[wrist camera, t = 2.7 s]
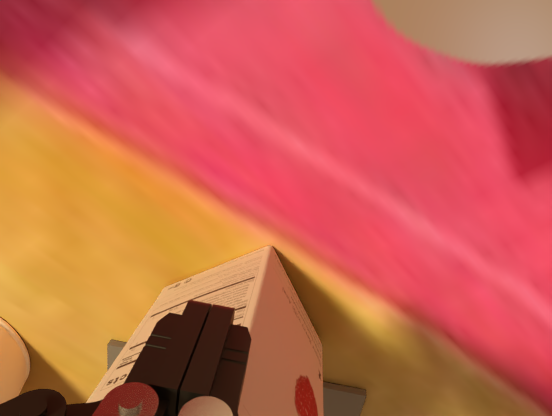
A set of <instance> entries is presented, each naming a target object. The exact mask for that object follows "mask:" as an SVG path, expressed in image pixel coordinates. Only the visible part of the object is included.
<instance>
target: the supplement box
mask: <svg viewBox="0 0 552 416" xmlns="http://www.w3.org/2000/svg"><path fill="white" fill-rule="evenodd" d="M189 300H194V301H199V302H205V303H210V304H212V305H213V304H216V305H221V306H226V307H231V308H235V314H234V321H233V324H234V325H239V326H244V327H248V330H249V333H250V336H251V339H252V340H251V345H250V351H249V357H248V363H247V368H246V374H245V379H244V384H243V389H242V394H241V398H240V403H239V408H238V416H324V414H323V363H322V344H321V342H320V339H319V337H318V335H317V333H316V331H315V329H314V327H313V325H312V323H311V321H310V319H309V317H308V315H307V313H306V311H305V309H304V307H303V305H302V303H301V301H300V299H299V297H298V295H297V293H296V291H295V289H294V287H293V286H292V284H291V282H290V280H289V278H288V276H287V274H286V272H285V270H284V268H283V266H282V264H281V262H280V260H279V258H278V256H277V254H276V252H275V250H274V248H273V247H272V246H270V245H269V246H266V247H263V248H261V249H258V250H256V251H253V252H251V253H248V254H246V255H243V256H241V257H239V258H236V259H234V260H231V261H229V262H226V263H224V264H221V265H219V266H216V267H214V268H211V269H209V270H206V271H204V272H202V273H199V274H197V275H194V276H192V277H189V278H187V279H184V280H182V281H179V282H177V283H174V284H172V285H169V286H167V287H165V288H163V290H162V292H161V293H160V295H159V296H158V298H157V299H156V301H155V302H154V304H153V305H152V307H151V308H150V309H149V311H148V312H147V314H146V315H145V317H144V318H143V320H142V321H141V323H140V324H139V326H138V327H137V329H136V330H135V332H134V333H133V334H132V336H131V337H130V339H129V340H128V342H127V343H126V345H125V346H124V348H123V349H122V351H121V352H120V354H119V355H118V357H117V358H116V359H115V361H114V362H113V364H112V365H111V367H110V368H109V370H108V371H107V373H106V374H105V375H104V377H103V378H102V380H101V381H100V383H99V384H98V386H97V387H96V389H95V390H94V391H93V393H92V394H91V396H90V397H89V399H88V400H87V402H86V403H90V402H96V401H100V400H102V399H104V397H105V396H106V395H107V393H109V392H110V391H111V390H112V389H114V388H115V387H117V386H119V385H122V384H123V383H124V382H125V380H126V378H127V376H128V375H129V373H130V371H131V369H132V367H133V365H134V364H135V362H136V360H137V358H138V356H139V354H140V353H141V351H142V349H143V347H144V346H145V344H146V342H147V340H148V338H149V336H150V335H151V332H152V331H153V329H154V327H155V325H156V323H157V322H158V321H159V320H160V319H161V318H163V317H164V316H165V315H167V314H168V313H169V312H170V313H175V314H180V315H182V313H183V311H184V309H185V307H186V305H187V303H188V301H189Z"/></svg>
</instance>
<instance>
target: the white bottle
mask: <svg viewBox="0 0 552 416" xmlns="http://www.w3.org/2000/svg"><path fill="white" fill-rule="evenodd" d="M29 372H30V357H29V354H28V350H27V348H26V346H25V344H24V342H23V341H22V339H21V337H20V336H19V335H18V334H17V332H16V331H15V330H14V329H13V328H12V327H11V326H10V325H9V324H8V323H7V322H6V321H4V320H3V319H2V318H1V317H0V404H2V403H4V402H6V401H8V400H10V399H13V398H15V397H17V396H19V394H20V392H21V390H22V387H23V385H24V383H25V381H26V380H27V378H28V375H29Z"/></svg>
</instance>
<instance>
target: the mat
mask: <svg viewBox="0 0 552 416" xmlns="http://www.w3.org/2000/svg"><path fill="white" fill-rule="evenodd" d="M125 345H126V342H121V341H116V340H110V342H109V343H108V370H109V368H110V367H111V365H112V364H113V362H114V361H115V359H116V358H117V357H118V355H119V354H120V352H121V351H122V349H123V348H124V346H125ZM365 399H366V390H363V389H358V388H353V387H348V386H343V385H338V384H333V383H328V382H323V414H324V416H360V414H361V411H362V408H363V405H364V402H365Z"/></svg>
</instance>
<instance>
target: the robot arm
mask: <svg viewBox="0 0 552 416" xmlns="http://www.w3.org/2000/svg"><path fill="white" fill-rule="evenodd" d="M234 314H235V308H231V307H226V306H221V305H216V304H213V305H212V304H210V303H205V302H199V301H194V300H189V301H188V303H187V305H186V307H185V309H184V311H183V313H182V315H180V314H175V313H170V312H169V313H168V314H167V315H165V316H164V317H163V318H161V319H160V320H159V321H158V322H157V323H156V325H155V327H154V329H153V331H152V332H151V335H150V336H149V338H148V340H147V342H146V344H145V346H144V347H143V349H142V351H141V353H140V354H139V356H138V358H137V360H136V362H135V364H134V365H133V367H132V369H131V371H130V373H129V375H128V376H127V378H126V380H125V382H124V383H123V384H122V385H119V386H117V387H115V388H114V389H112V390H111V391H110V392H109V393H107V395H106V396H105V397H104V399H102V400H100V401H96V402H90V403H81V404H70V405H66V400H65V398H64V397H63V396H62V395H61V394H60V393H59V392H57V391H54V390H50V389H37V390H32V391H29V392H26V393H24V394H21V395H19V396H17V397H15V398H13V399H10V400H8V401H6V402H4V403H2V404H0V416H238V408H239V403H240V398H241V394H242V389H243V384H244V379H245V374H246V368H247V363H248V357H249V351H250V345H251V340H252V339H251V336H250V333H249V330H248V327H244V326H239V325H234V324H233V321H234Z"/></svg>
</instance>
